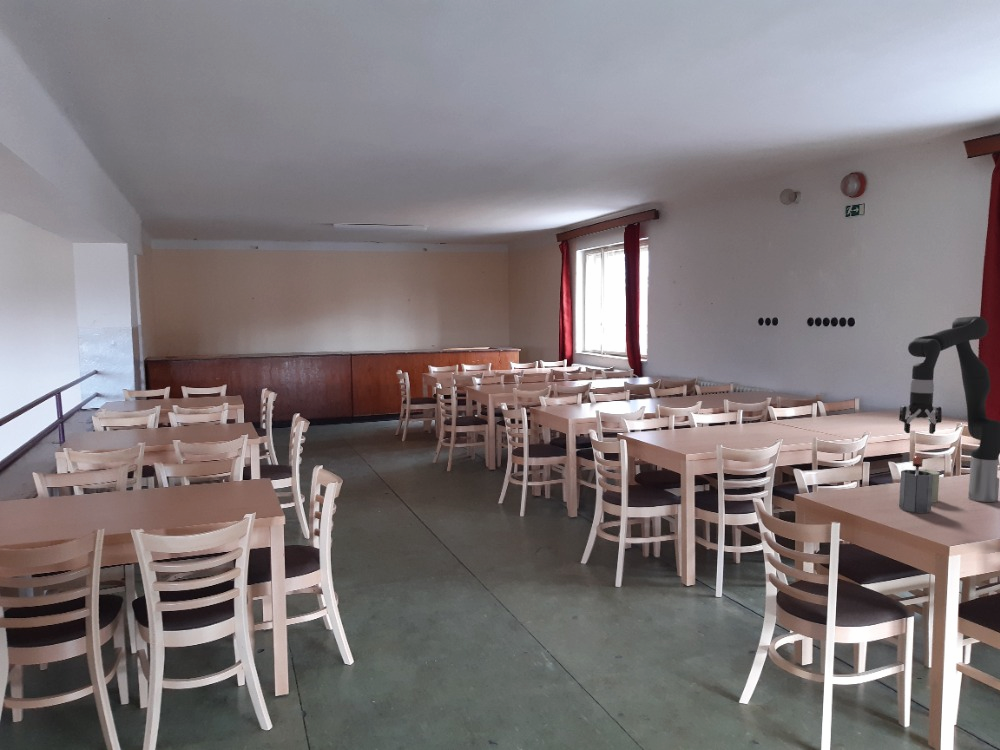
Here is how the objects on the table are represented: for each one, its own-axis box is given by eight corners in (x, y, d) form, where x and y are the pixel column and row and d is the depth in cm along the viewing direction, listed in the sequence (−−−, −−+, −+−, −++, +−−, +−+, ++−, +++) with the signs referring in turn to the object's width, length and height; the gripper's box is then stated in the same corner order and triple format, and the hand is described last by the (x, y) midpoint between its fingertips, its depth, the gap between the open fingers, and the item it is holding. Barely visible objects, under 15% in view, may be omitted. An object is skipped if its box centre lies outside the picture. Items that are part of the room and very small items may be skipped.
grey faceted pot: (920, 505, 285) (922, 469, 283) (934, 513, 273) (937, 476, 271) (893, 504, 286) (895, 468, 285) (906, 512, 274) (908, 475, 272)
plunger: (920, 504, 281) (923, 455, 279) (929, 509, 274) (932, 459, 272) (901, 504, 282) (903, 454, 280) (909, 509, 275) (912, 458, 273)
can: (936, 498, 296) (938, 469, 295) (939, 503, 287) (941, 473, 286) (910, 495, 300) (912, 467, 299) (913, 500, 291) (914, 471, 290)
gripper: (937, 390, 277) (934, 432, 278) (897, 389, 278) (895, 431, 280) (946, 392, 269) (944, 435, 271) (906, 391, 271) (903, 434, 272)
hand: (919, 433), depth 275 cm, fingers open, 8 cm apart
